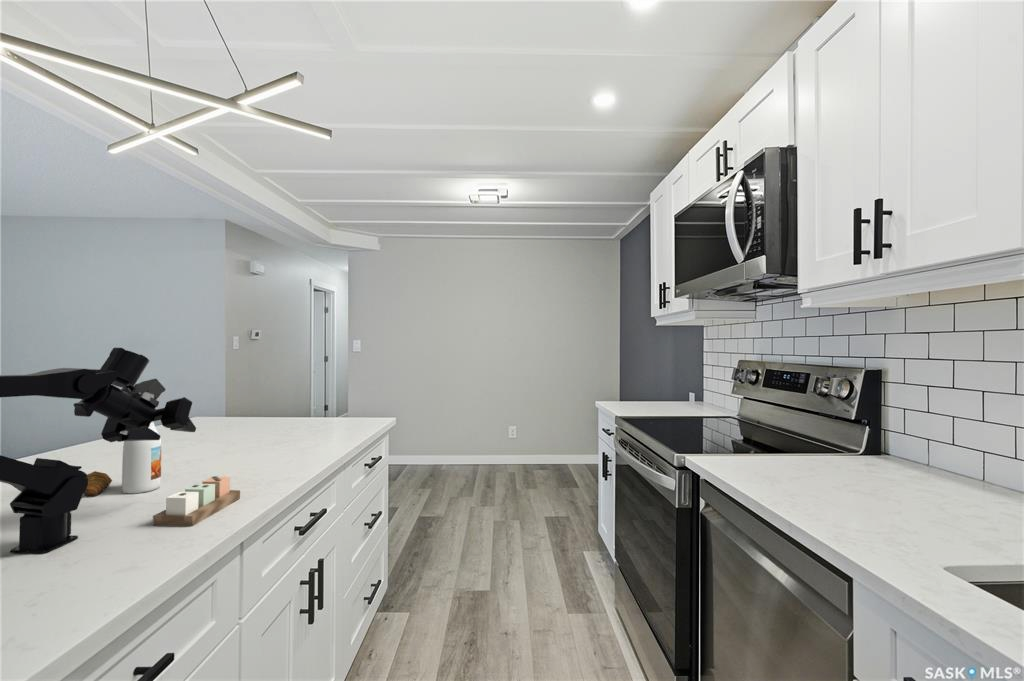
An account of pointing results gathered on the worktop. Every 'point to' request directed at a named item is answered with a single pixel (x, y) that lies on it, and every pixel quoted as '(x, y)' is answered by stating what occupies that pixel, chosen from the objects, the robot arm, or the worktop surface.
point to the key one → (182, 503)
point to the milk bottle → (141, 465)
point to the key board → (196, 512)
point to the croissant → (97, 483)
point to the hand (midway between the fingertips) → (177, 434)
